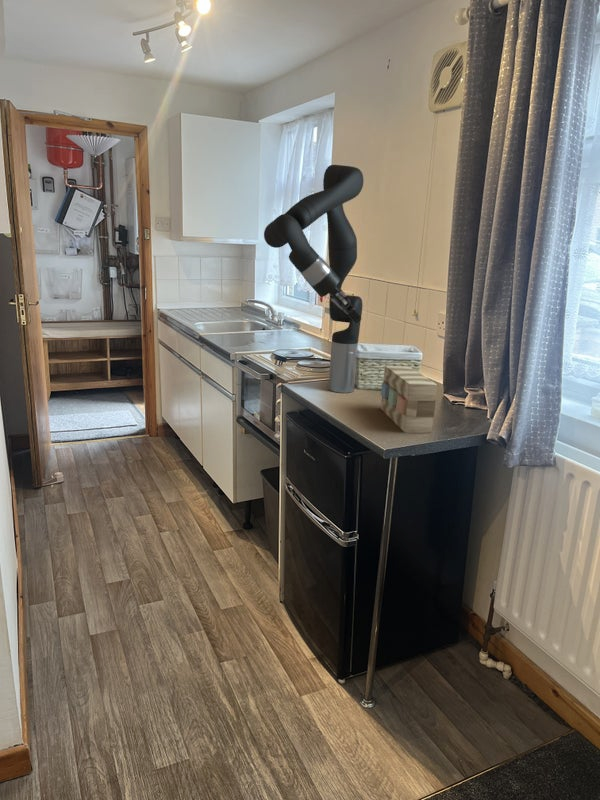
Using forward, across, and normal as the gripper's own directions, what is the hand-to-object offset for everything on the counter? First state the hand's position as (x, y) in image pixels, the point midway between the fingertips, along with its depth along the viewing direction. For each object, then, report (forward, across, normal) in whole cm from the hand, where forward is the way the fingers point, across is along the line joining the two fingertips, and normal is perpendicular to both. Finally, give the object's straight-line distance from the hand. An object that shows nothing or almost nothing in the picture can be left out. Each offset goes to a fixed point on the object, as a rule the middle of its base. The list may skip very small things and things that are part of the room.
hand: (358, 320), depth 171 cm
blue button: (+25, +3, +8) cm, 27 cm away
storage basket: (+36, +37, +6) cm, 52 cm away
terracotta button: (+25, -13, +8) cm, 30 cm away
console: (+31, -5, +10) cm, 33 cm away
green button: (+25, -5, +8) cm, 27 cm away
